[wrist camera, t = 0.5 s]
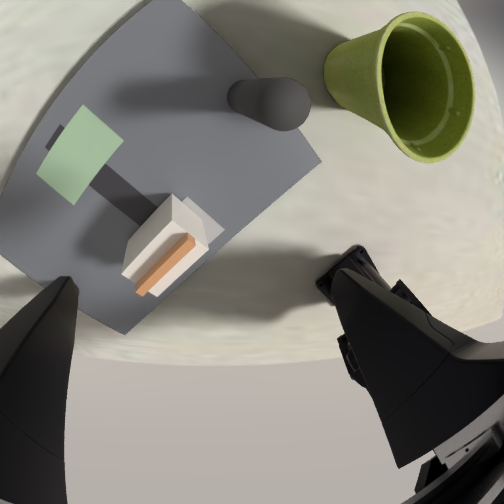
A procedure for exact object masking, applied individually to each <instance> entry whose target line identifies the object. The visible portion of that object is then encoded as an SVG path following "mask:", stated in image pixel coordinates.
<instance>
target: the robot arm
mask: <svg viewBox="0 0 504 504" xmlns="http://www.w3.org/2000/svg"><path fill="white" fill-rule="evenodd" d="M396 283H397V284H396V285H395V286H394V287H393V288H392V289H391V287H390V286H389V285H388V284H387V283H386V282H385V280H384V279H383V278H382V277H381V276H380V274H379V272H378V271H377V269H376V267H375V265H374V263H373V262H372V260H371V258H370V256H369V255H368V253H367V251H366V249H365V248H364V247H363V246H359V247H357V248H356V249H355V250H354V251H353V252H352V253H350V254H349V255H348V256H347V257H346V258H344V259H343V260H342V261H341V262H340V263H338V264H337V265H336V266H335V267H333V268H332V269H331V270H330V271H329V272H327V273H326V274H325V275H324V276H322V277H321V278H320V279H319V280H317V282H316V286H317V288H318V289H319V290H320V291H321V292H322V293H323V294H324V295H325V296H326V297H327V298H328V299H329V300H330V301H331V302H332V303H333V304H334V305H335V307H336V310H337V313H338V316H339V319H340V322H341V325H342V327H343V330H344V332H345V333H344V334H343V335H341V336H340V337H338V338H337V340H338V343H339V348H340V350H341V353H342V356H343V359H344V362H345V364H346V367H347V370H348V373H349V374H350V377H351V379H353V380H355V381H356V382H357V383H358V384H360V385H361V386H362V387H364V388H366V389H367V391H368V392H369V394H370V395H371V397H372V399H373V401H374V404H375V407H376V409H377V412H378V414H379V417H380V420H381V422H382V425H383V428H384V430H385V434H386V436H387V439H388V442H389V444H390V447H391V450H392V453H393V456H394V459H395V462H396V464H397V467H398V468H399V469H400V468H401V467H403V466H405V465H407V464H409V463H411V462H412V461H414V460H416V459H418V458H420V457H421V456H423V455H425V454H426V453H428V452H429V451H431V450H433V451H434V453H435V454H436V455H435V456H434V457H433V458H431V459H430V460H428V461H427V462H426V463H424V464H422V465H421V469H420V473H419V477H418V480H417V483H416V486H415V493H416V494H415V495H414V496H412V497H411V498H409V499H408V500H406V501H405V502H403V503H401V504H504V341H503V342H496V343H483V342H479V341H477V340H474V339H472V338H471V337H469V336H467V335H465V334H463V333H461V332H459V331H458V330H456V329H454V328H452V327H450V326H448V325H446V324H444V323H443V322H441V321H439V320H437V319H436V318H434V317H433V316H432V315H431V314H430V313H429V312H428V310H427V309H426V308H425V307H424V306H423V305H422V303H421V302H420V301H419V300H418V299H417V298H416V296H415V295H414V294H413V293H412V292H411V291H410V290H409V289H408V287H407V286H406V285H405V284H404V283H403V282H402V281H401V280H400V279H399V280H398V281H397V282H396ZM77 309H78V295H77V292H76V289H75V285H74V282H73V279H72V277H71V276H59V277H58V278H57V279H55V280H54V281H53V282H52V283H51V284H49V285H48V286H47V287H46V288H45V289H44V290H42V291H41V292H40V293H39V294H38V295H37V296H35V297H34V298H33V299H32V300H31V301H30V302H29V303H28V304H26V305H25V306H24V307H23V308H22V309H21V310H20V311H19V312H18V313H17V314H16V315H14V316H13V317H12V318H11V319H10V320H9V321H8V322H7V323H6V324H5V325H4V326H3V327H2V328H1V329H0V504H67V495H66V483H65V462H64V430H65V411H66V399H67V389H68V381H69V373H70V366H71V359H72V353H73V347H74V339H75V328H76V318H77Z"/></svg>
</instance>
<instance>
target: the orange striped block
mask: <svg viewBox="0 0 504 504" xmlns="http://www.w3.org/2000/svg"><path fill="white" fill-rule="evenodd" d="M208 250H209V248H208V244H207V239H206V235H205V230H204V226H203V221H202V219H201V218H200V217H199V216H198V215H196V214H195V213H194V212H193V211H192V210H191V209H189V208H188V207H187V206H186V205H185V204H184V203H183V202H181V201H180V200H179V199H178V198H177V197H176V196H174V195H173V194H171V195H170V196H169V197H168V198H167V199H166V200H165V201H164V202H163V203H162V204H161V205H160V206H159V207H158V208H157V209H156V211H155V212H154V213H153V214H152V215H151V216H150V217H149V218H148V219H147V220H146V221H145V222H144V223H143V225H142V226H141V227H140V228H139V229H138V230H137V231H136V232H135V233H134V235H133V236H132V237H131V238H130V239H129V240H128V243H127V248H126V252H125V257H124V262H123V267H122V273H121V274H122V275H123V276H125V277H126V278H128V279H129V280H131V281H132V282H134V283H136V288H135V292H136V293H138V294H139V295H141V296H142V297H143V296H144V295H145V294H146V293H147V292H150V293H151V294H153V295H155V296H156V297H158V296H159V295H160V294H161V293H162V292H163V291H164V290H165V289H166V288H167V287H169V286H170V285H171V284H172V283H173V282H174V281H175V280H176V279H177V278H178V277H179V276H180V275H181V274H183V273H184V272H185V271H186V270H187V269H188V268H189V267H190V266H191V265H192V264H193V263H195V262H196V261H197V260H198V259H199V258H200V257H201V256H202V255H203V254H205V253H206V252H207V251H208Z"/></svg>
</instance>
